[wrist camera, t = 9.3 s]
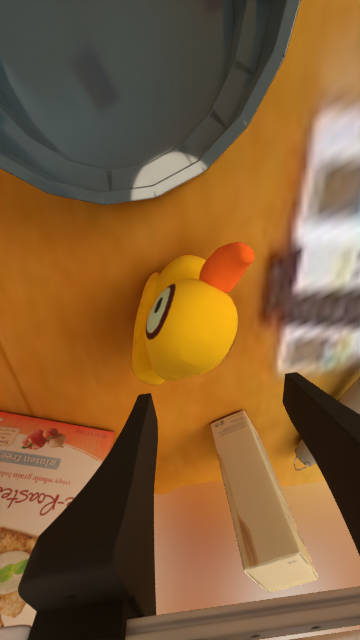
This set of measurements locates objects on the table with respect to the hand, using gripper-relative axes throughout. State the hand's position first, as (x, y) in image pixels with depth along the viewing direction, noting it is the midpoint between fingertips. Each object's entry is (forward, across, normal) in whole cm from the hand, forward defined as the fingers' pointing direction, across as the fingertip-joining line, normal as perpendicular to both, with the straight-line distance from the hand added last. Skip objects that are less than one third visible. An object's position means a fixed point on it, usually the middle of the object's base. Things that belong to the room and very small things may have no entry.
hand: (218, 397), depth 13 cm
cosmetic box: (+10, -3, +16) cm, 19 cm away
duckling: (+10, +2, -3) cm, 10 cm away
